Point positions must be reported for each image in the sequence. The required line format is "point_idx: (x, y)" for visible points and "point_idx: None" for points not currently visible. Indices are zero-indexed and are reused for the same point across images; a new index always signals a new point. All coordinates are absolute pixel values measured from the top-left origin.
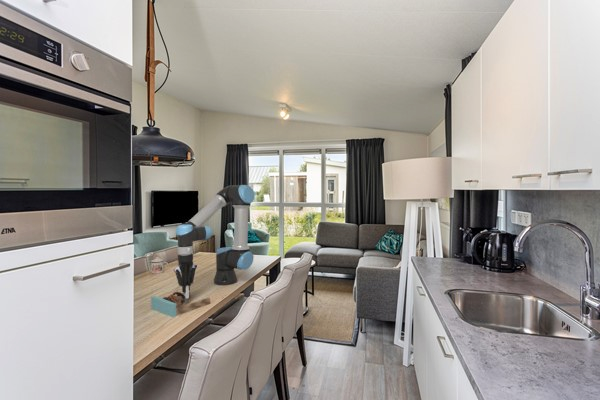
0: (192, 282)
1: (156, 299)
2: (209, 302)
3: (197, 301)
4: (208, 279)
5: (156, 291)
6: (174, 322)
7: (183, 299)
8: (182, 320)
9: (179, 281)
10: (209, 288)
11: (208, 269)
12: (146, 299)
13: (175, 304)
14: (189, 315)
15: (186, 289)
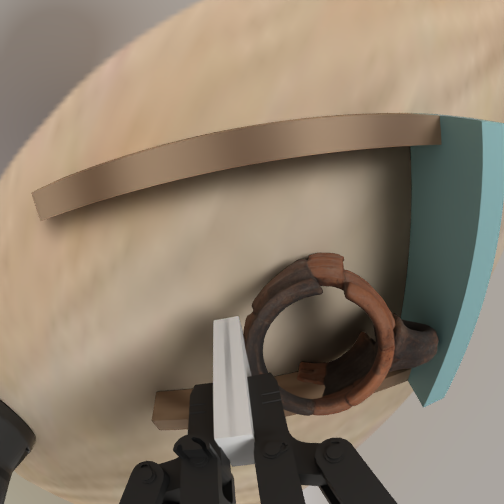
0: (143, 471)
1: (462, 352)
2: (59, 179)
3: (169, 172)
4: (58, 462)
5: None
6: (447, 30)
7: (289, 297)
8: (404, 6)
9: (384, 501)
10: (46, 412)
11: (64, 490)
12: None
13: (480, 120)
14: (331, 32)
15: (248, 398)
